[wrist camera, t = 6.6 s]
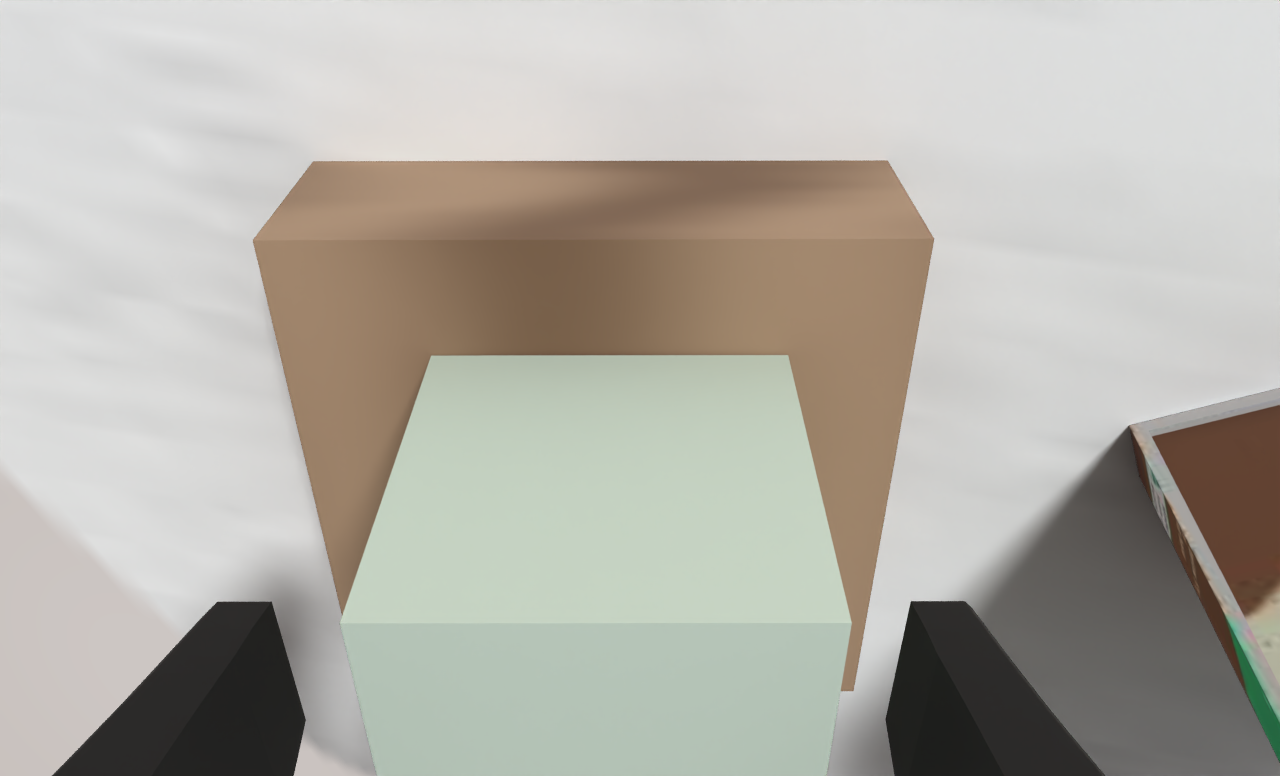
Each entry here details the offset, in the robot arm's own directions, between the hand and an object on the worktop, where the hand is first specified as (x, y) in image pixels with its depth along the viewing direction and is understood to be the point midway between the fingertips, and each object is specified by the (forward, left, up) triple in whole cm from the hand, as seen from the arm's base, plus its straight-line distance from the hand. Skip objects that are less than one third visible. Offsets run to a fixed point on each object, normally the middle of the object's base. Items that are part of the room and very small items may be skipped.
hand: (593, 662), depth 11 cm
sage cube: (0, 0, -3) cm, 3 cm away
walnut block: (0, 0, -6) cm, 6 cm away
